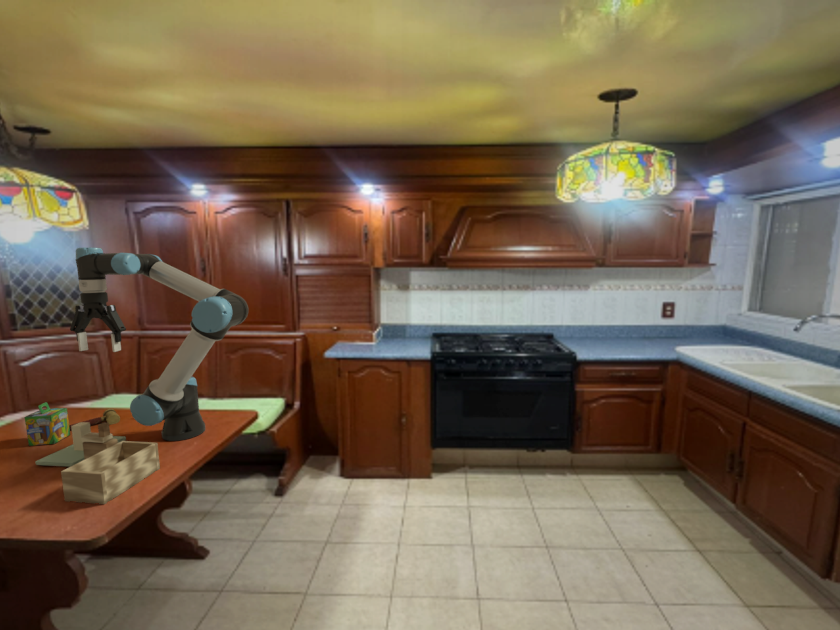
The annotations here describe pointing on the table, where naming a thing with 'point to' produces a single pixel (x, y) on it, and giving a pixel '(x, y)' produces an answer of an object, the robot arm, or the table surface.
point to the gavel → (104, 418)
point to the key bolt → (98, 434)
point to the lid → (72, 448)
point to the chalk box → (47, 425)
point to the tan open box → (109, 470)
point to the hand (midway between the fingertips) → (100, 350)
